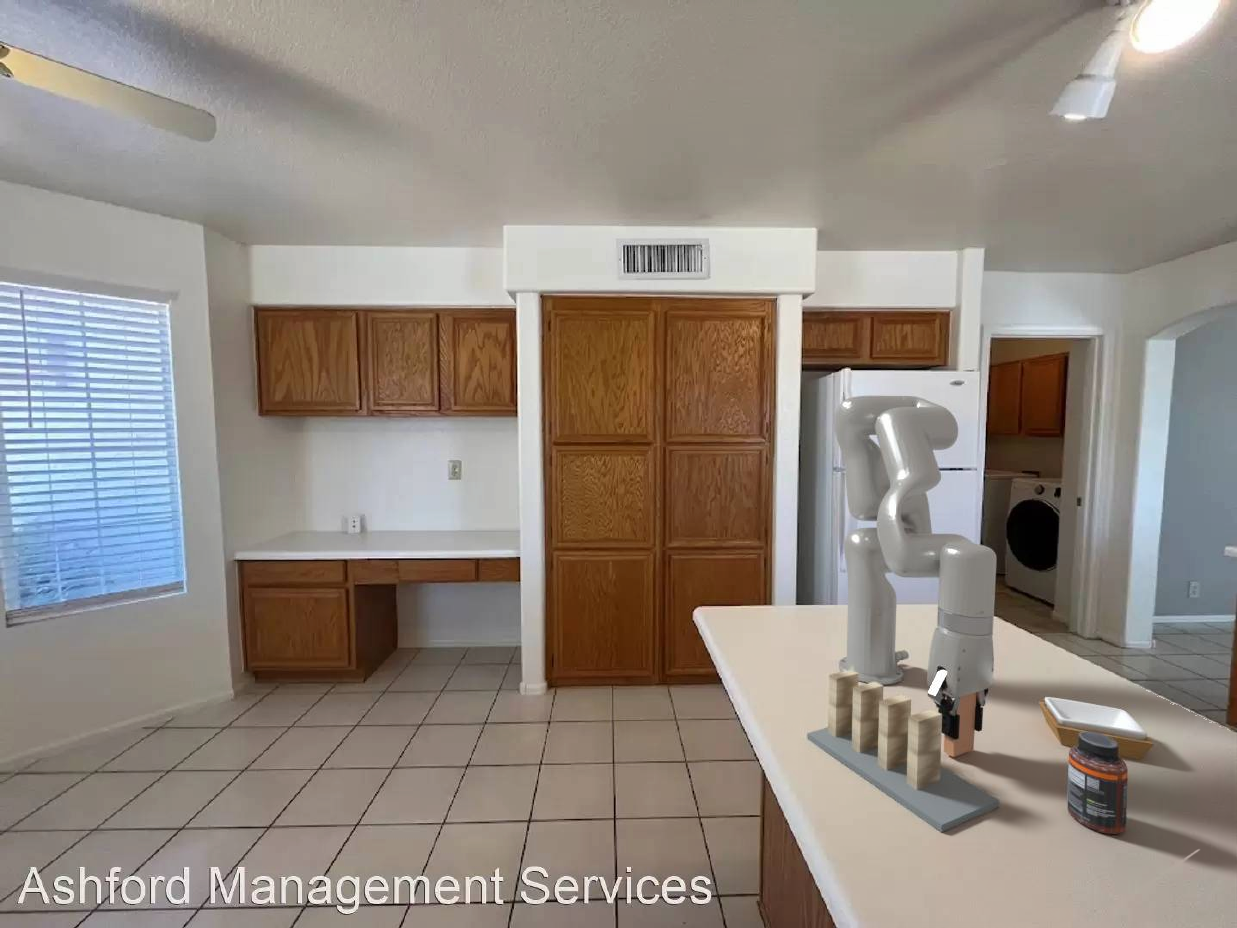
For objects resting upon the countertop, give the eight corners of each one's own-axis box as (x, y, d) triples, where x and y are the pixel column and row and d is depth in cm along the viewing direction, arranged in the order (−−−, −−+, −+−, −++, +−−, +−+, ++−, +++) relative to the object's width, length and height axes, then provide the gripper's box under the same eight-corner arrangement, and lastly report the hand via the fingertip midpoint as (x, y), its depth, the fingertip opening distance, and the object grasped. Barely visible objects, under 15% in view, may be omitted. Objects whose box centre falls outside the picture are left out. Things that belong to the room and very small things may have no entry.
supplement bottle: (1111, 811, 75) (1115, 731, 74) (1136, 841, 69) (1140, 755, 68) (1058, 801, 77) (1062, 723, 76) (1078, 830, 71) (1082, 746, 70)
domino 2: (873, 740, 90) (875, 681, 90) (881, 745, 89) (883, 685, 88) (851, 747, 88) (853, 687, 88) (859, 752, 87) (861, 691, 86)
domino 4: (929, 774, 81) (931, 709, 81) (939, 780, 80) (942, 714, 79) (906, 782, 79) (908, 716, 79) (916, 789, 78) (918, 721, 77)
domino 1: (849, 725, 95) (850, 669, 94) (857, 730, 93) (858, 673, 93) (828, 732, 93) (829, 674, 92) (835, 736, 91) (836, 678, 91)
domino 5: (963, 744, 90) (966, 685, 89) (973, 749, 88) (976, 689, 88) (943, 751, 88) (946, 691, 87) (953, 756, 86) (956, 696, 86)
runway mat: (858, 723, 97) (858, 718, 97) (998, 806, 75) (999, 799, 75) (807, 738, 92) (807, 733, 92) (941, 832, 71) (941, 824, 71)
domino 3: (900, 756, 86) (902, 694, 85) (909, 761, 84) (911, 699, 84) (877, 764, 84) (879, 700, 83) (886, 769, 82) (888, 705, 82)
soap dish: (1055, 748, 90) (1056, 718, 90) (1037, 720, 99) (1038, 693, 99) (1153, 766, 85) (1155, 735, 85) (1124, 735, 94) (1126, 706, 94)
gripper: (975, 606, 93) (970, 708, 95) (906, 621, 86) (902, 731, 88) (1022, 621, 87) (1016, 730, 88) (952, 637, 80) (947, 756, 81)
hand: (959, 729), depth 88 cm, fingers closed on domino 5, 4 cm apart
